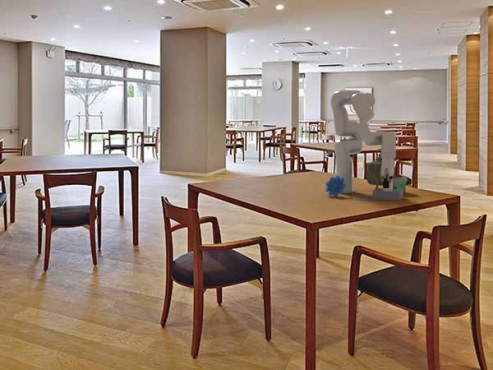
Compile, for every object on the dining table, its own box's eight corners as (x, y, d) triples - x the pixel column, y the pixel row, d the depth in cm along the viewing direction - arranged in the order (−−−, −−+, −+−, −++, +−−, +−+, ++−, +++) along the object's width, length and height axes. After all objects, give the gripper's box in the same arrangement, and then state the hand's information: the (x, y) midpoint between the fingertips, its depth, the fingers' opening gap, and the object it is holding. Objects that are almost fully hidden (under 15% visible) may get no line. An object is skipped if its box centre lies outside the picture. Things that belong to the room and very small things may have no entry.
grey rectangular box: (372, 200, 264) (372, 190, 263) (377, 197, 273) (377, 188, 272) (399, 201, 257) (399, 192, 257) (403, 198, 266) (403, 189, 265)
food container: (399, 196, 273) (399, 178, 272) (389, 195, 278) (389, 177, 276) (411, 193, 281) (411, 176, 279) (402, 192, 285) (402, 175, 284)
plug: (383, 198, 264) (383, 179, 263) (384, 197, 268) (385, 178, 267) (391, 199, 262) (391, 179, 261) (393, 197, 266) (393, 178, 264)
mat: (351, 201, 264) (351, 199, 264) (356, 197, 272) (356, 196, 272) (369, 202, 259) (369, 200, 259) (374, 198, 268) (374, 197, 268)
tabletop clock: (378, 192, 288) (378, 150, 284) (365, 191, 295) (365, 149, 291) (392, 189, 297) (392, 148, 294) (379, 188, 304) (380, 147, 300)
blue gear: (347, 195, 282) (347, 174, 281) (344, 197, 276) (344, 176, 274) (327, 194, 287) (326, 174, 285) (324, 196, 280) (324, 175, 279)
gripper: (385, 153, 271) (384, 184, 273) (377, 156, 256) (377, 188, 258) (399, 153, 267) (398, 184, 270) (391, 156, 252) (391, 189, 255)
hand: (388, 186), depth 264 cm, fingers open, 9 cm apart
